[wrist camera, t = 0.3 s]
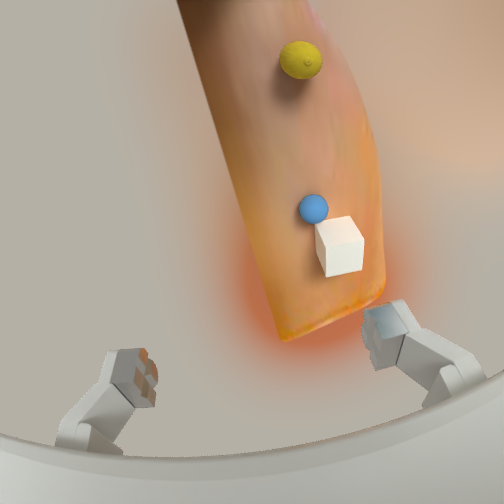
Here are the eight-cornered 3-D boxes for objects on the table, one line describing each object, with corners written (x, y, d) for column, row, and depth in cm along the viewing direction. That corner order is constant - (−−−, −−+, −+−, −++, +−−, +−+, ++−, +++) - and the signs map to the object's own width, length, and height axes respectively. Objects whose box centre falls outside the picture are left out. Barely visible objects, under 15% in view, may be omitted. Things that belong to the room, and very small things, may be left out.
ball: (295, 191, 52) (301, 206, 48) (323, 187, 51) (331, 201, 48) (297, 216, 55) (303, 232, 51) (324, 211, 55) (332, 226, 51)
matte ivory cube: (314, 222, 56) (325, 247, 50) (349, 215, 56) (364, 239, 50) (315, 251, 60) (326, 277, 55) (348, 244, 60) (361, 269, 54)
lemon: (283, 80, 39) (296, 89, 33) (268, 48, 36) (278, 49, 30) (317, 68, 38) (336, 75, 32) (304, 36, 35) (320, 35, 29)
